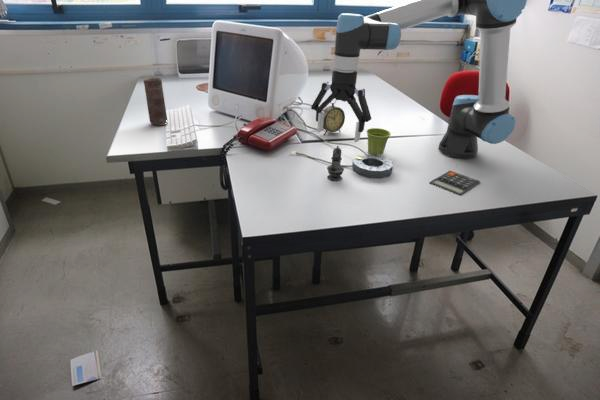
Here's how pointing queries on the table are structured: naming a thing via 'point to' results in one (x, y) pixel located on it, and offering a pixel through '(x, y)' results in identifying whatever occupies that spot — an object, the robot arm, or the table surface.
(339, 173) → the dark stone statuette
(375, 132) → the plant pot
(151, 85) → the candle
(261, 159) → the table surface
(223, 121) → the table surface
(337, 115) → the alarm clock
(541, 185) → the table surface
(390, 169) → the ring
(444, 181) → the calculator
